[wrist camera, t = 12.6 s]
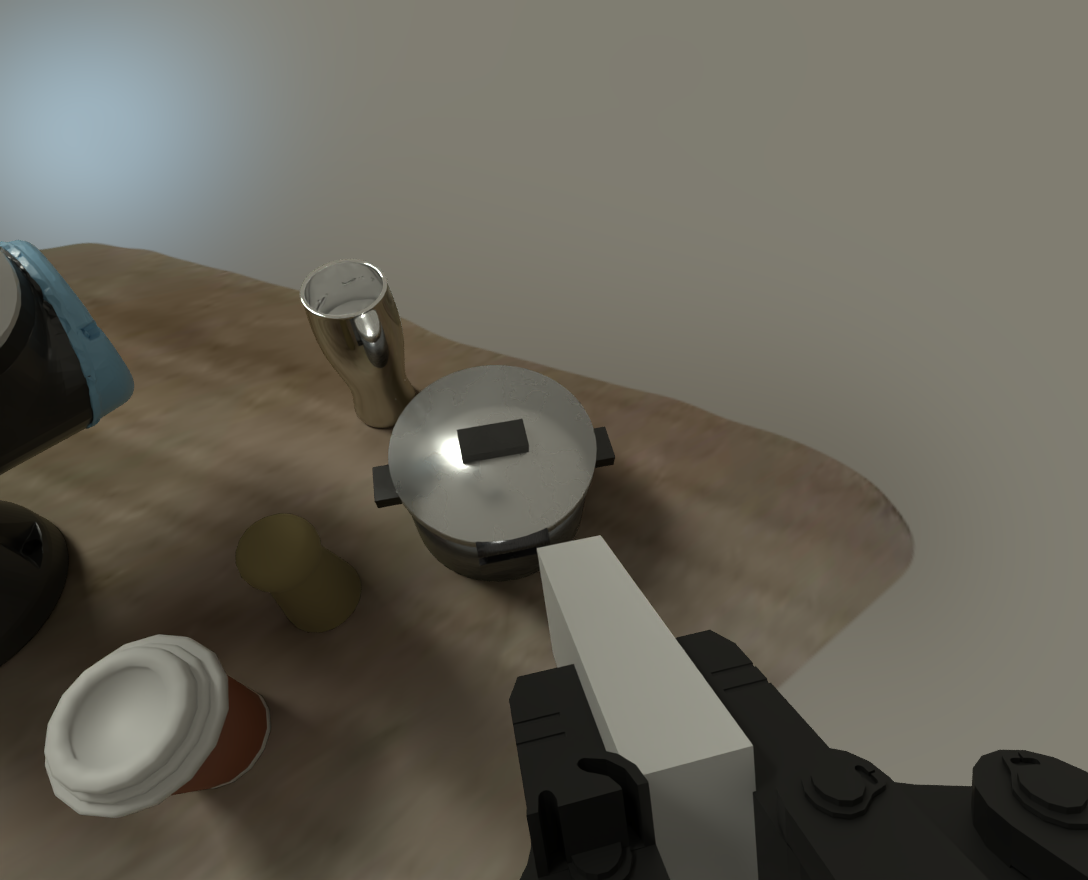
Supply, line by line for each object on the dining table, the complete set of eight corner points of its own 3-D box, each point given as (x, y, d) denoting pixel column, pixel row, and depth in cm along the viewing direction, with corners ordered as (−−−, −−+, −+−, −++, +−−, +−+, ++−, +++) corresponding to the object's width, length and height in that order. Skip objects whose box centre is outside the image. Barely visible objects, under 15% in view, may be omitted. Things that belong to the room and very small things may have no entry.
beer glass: (344, 432, 53) (286, 319, 40) (357, 375, 57) (308, 255, 44) (417, 433, 53) (382, 320, 41) (425, 376, 57) (395, 257, 44)
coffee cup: (204, 847, 36) (76, 868, 26) (127, 747, 39) (-16, 731, 29) (317, 723, 40) (244, 699, 30) (239, 641, 43) (149, 593, 33)
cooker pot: (628, 567, 46) (645, 529, 40) (399, 616, 44) (375, 584, 37) (580, 414, 55) (587, 361, 48) (385, 447, 52) (364, 396, 45)
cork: (371, 565, 46) (332, 507, 37) (345, 639, 43) (294, 596, 34) (302, 552, 47) (246, 492, 37) (271, 625, 43) (201, 579, 34)
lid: (622, 532, 39) (627, 519, 38) (400, 577, 37) (394, 565, 35) (567, 361, 48) (569, 344, 46) (385, 390, 46) (378, 373, 44)
